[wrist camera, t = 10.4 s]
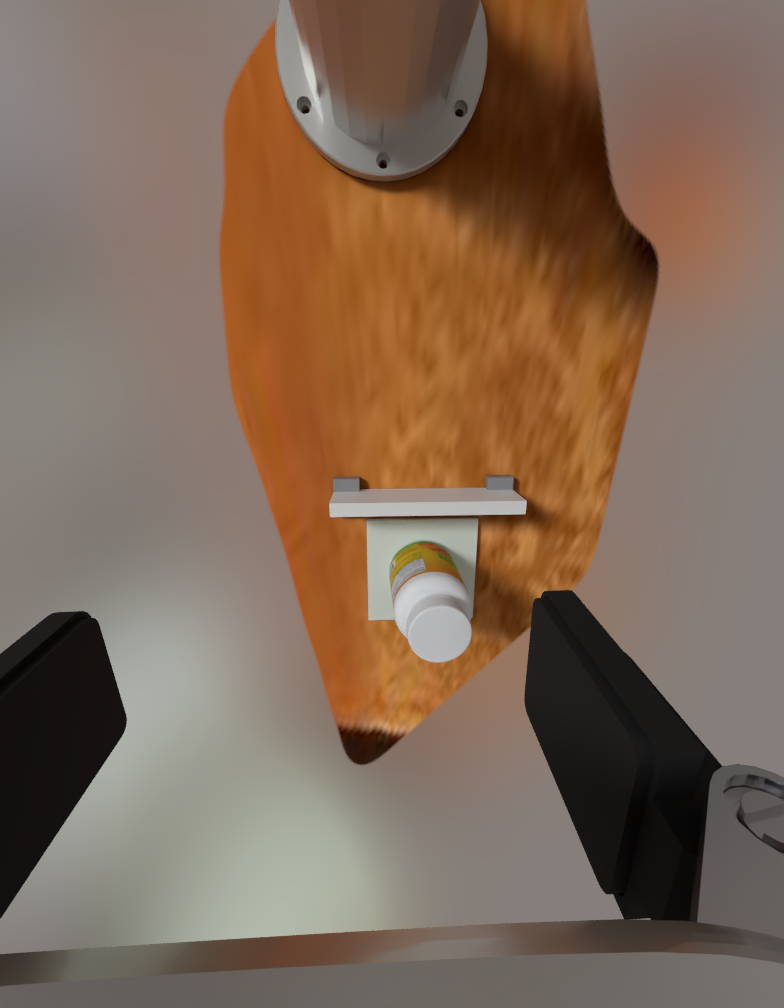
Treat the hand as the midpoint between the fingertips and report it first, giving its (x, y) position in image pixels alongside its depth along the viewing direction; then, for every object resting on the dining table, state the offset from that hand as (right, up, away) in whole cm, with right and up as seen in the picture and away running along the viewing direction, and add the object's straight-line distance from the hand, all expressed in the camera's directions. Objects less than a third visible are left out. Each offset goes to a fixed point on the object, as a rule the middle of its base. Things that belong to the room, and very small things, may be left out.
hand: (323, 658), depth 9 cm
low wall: (+4, +4, +25) cm, 26 cm away
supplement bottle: (+4, -2, +26) cm, 27 cm away
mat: (+4, -2, +27) cm, 27 cm away
